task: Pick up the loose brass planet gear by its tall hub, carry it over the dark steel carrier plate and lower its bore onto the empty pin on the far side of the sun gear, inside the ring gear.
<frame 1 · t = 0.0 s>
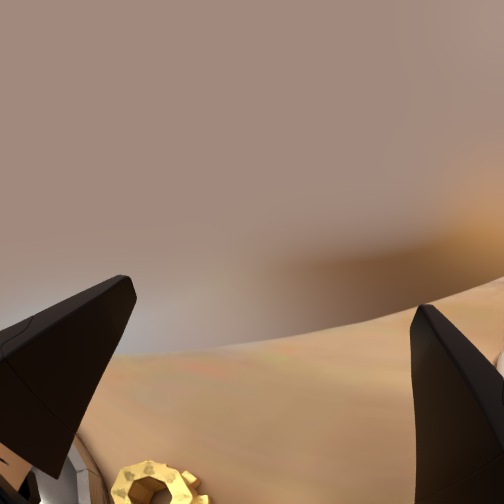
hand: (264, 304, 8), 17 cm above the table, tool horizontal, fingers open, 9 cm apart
carrier: (15, 495, 9), on the table
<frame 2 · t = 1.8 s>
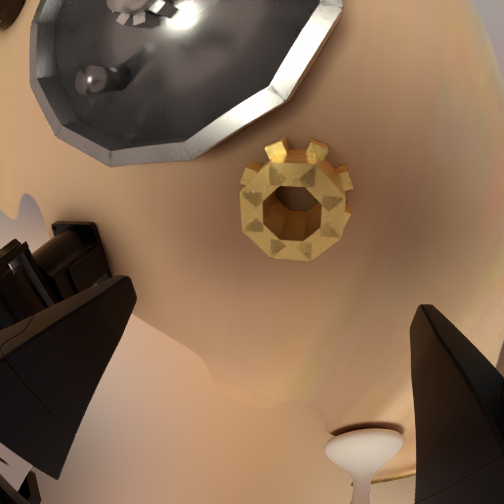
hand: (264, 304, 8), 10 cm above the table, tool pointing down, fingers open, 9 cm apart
planet gear: (298, 189, 17), on the table
supplement bottle: (14, 4, 11), on the table
carrier: (163, 5, 12), on the table
flower in vase: (360, 434, 31), on the table
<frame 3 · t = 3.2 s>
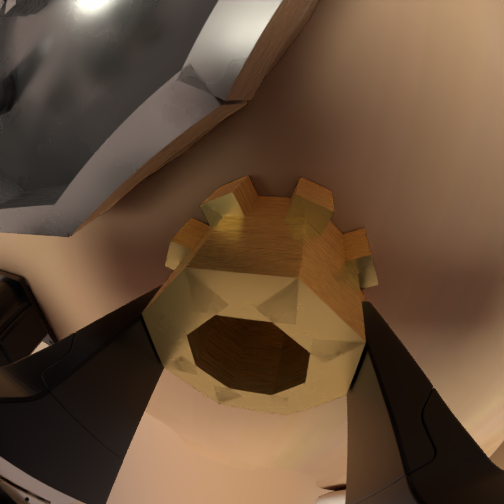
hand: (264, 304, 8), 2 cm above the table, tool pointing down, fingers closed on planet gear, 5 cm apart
planet gear: (275, 267, 10), on the table, touching gripper
flower in vase: (355, 488, 24), on the table
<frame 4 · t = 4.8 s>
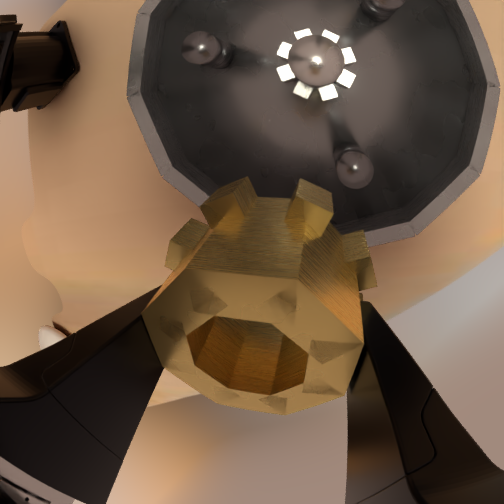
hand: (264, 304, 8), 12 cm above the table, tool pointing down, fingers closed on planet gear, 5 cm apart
planet gear: (274, 268, 10), point 10 cm above the table, touching gripper
carrier: (316, 69, 14), on the table
flower in vase: (67, 341, 38), on the table
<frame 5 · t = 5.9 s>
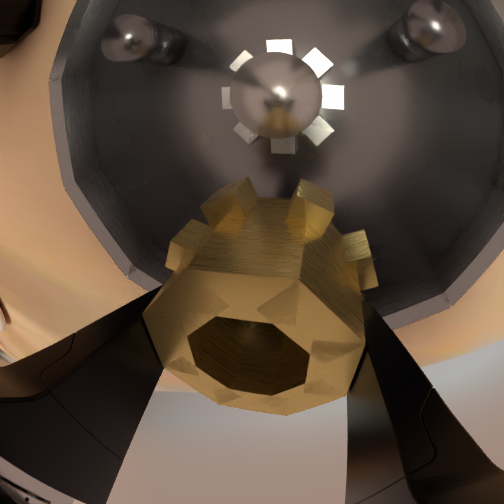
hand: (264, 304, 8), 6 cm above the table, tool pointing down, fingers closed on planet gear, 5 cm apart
planet gear: (275, 268, 10), point 4 cm above the table, touching gripper
carrier: (289, 97, 10), on the table
when the fingers open (5 cm above the table, at t = 6.6 s): planet gear drops 2 cm, resting on carrier.
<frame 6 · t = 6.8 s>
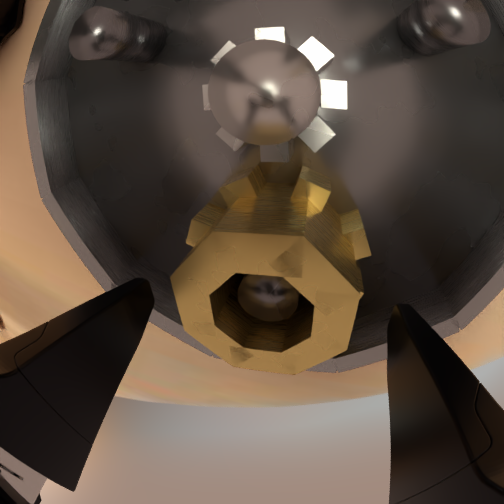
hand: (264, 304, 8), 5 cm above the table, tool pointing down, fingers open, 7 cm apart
planet gear: (281, 245, 11), point 1 cm above the table, touching carrier
carrier: (284, 95, 9), on the table
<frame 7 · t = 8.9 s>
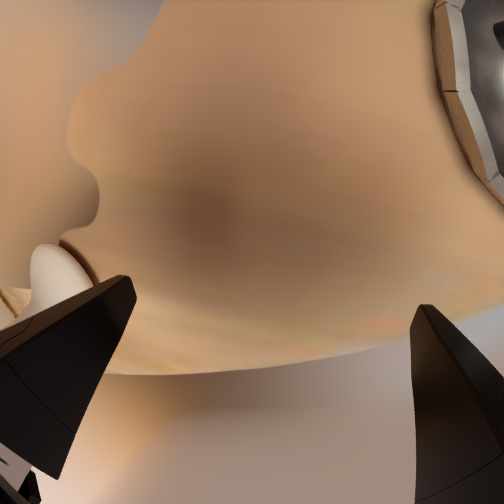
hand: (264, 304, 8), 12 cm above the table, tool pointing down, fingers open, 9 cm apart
flower in vase: (71, 271, 29), on the table
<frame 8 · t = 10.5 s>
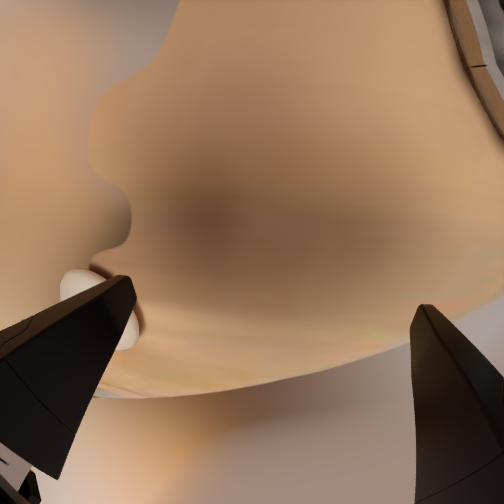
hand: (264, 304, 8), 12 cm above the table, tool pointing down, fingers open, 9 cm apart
flower in vase: (105, 296, 29), on the table
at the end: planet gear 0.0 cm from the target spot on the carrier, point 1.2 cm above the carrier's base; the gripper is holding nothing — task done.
